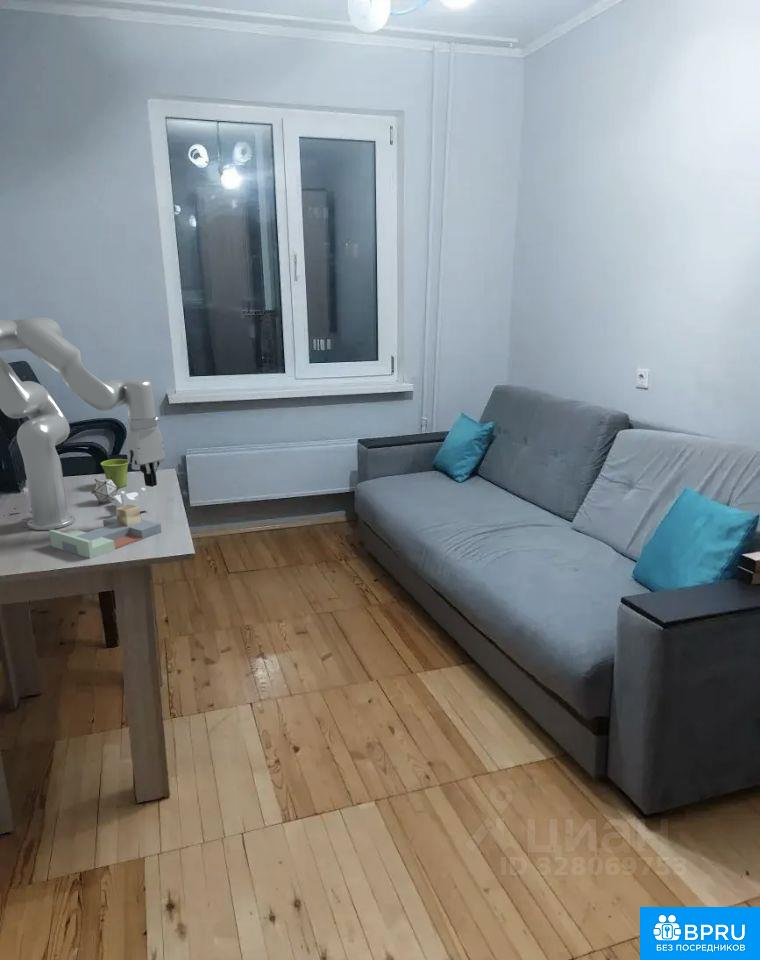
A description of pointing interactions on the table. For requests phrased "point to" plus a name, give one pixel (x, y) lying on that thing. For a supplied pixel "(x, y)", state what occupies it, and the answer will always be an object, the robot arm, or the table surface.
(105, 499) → the game die
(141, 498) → the bracket
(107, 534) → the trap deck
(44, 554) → the table surface
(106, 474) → the plant pot
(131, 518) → the maple block
